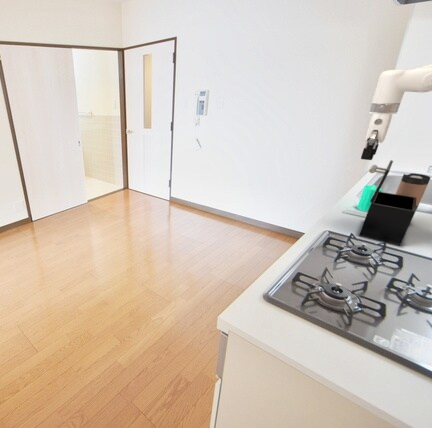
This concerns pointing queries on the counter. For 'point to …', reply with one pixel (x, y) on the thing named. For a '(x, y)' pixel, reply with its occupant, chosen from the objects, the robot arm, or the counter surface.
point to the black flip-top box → (389, 218)
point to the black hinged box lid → (373, 169)
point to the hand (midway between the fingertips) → (368, 156)
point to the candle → (366, 197)
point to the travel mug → (413, 186)
